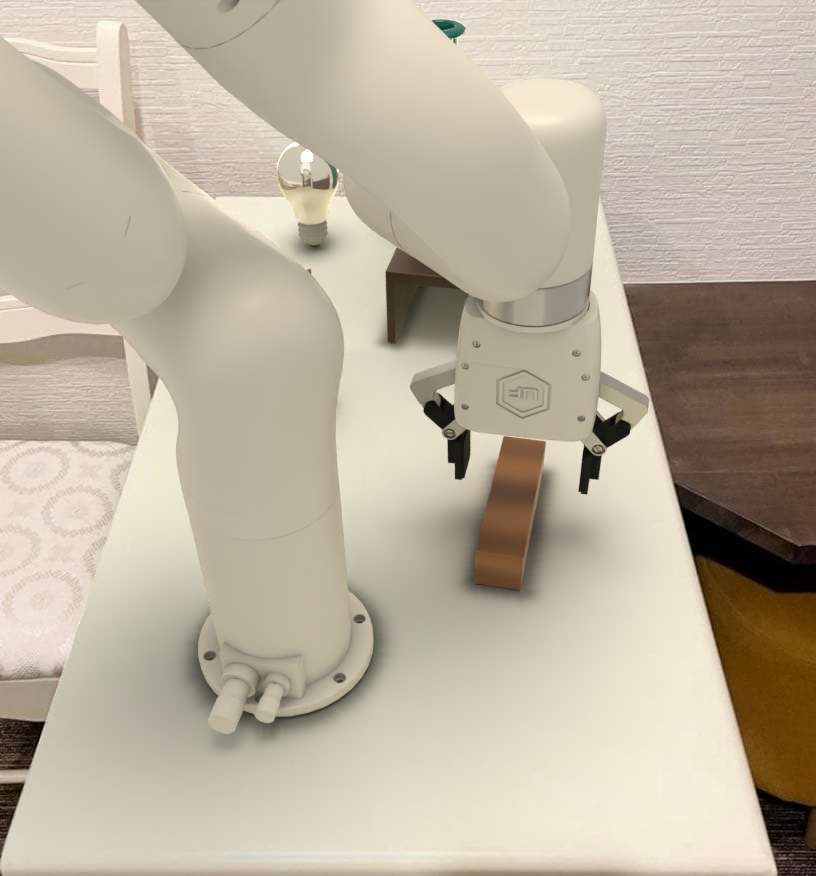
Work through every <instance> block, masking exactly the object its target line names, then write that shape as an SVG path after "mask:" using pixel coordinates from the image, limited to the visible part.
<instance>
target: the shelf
mask: <svg viewBox="0 0 816 876" xmlns="http://www.w3.org/2000/svg"><path fill="white" fill-rule="evenodd" d="M419 286H420V287H430V288H440V289H448V290H458V291H462V290H461V289H460V288H458V287H457V286H456V285H454V284H453V283H451V282H450V281H448V280H447V279H446V278H444V277H443V276H441V275H440V274H438V273H437V272H435V271H434V270H432V269H431V268H429V267H428V266H426V265H425V264H423V263H422V262H420V261H419V260H418V259H416V258H414V257H412V256H410V255H409V254H407V253H405V252H404V251H402V250H401V249H399V248H398V247H396V249H395V250H394V252H393V254H392V256H391V259H390V260H389V263H388V265H387V266H386V270H385V300H386V305H385V306H386V330H387V331H386V332H387V333H386V334H387V336H386V337H387V343H390V344H396V343H397V340H398V338H399V335H400V333H401V330H402V328H403V325H404V323H405V320H406V318H407V316H408V313H409V311H410V308H411V306H412V303H413V300H414V298H415V296H416V294H417V291H418V288H419Z"/></svg>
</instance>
